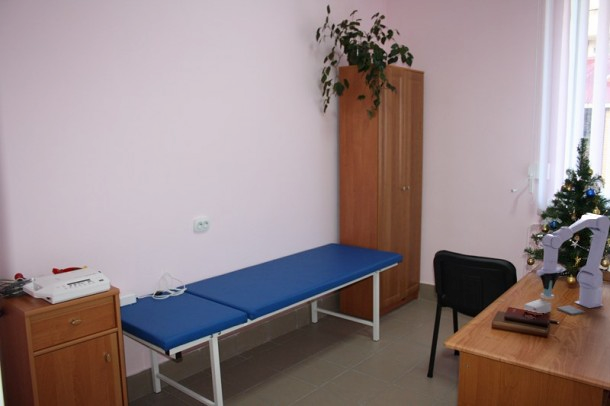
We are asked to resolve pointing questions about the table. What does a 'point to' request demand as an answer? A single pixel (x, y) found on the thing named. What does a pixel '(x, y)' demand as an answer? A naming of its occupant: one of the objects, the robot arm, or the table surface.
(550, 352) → the table surface
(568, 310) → the rubber mat
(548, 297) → the pusher tool
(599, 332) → the table surface
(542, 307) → the skincare box
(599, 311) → the table surface
